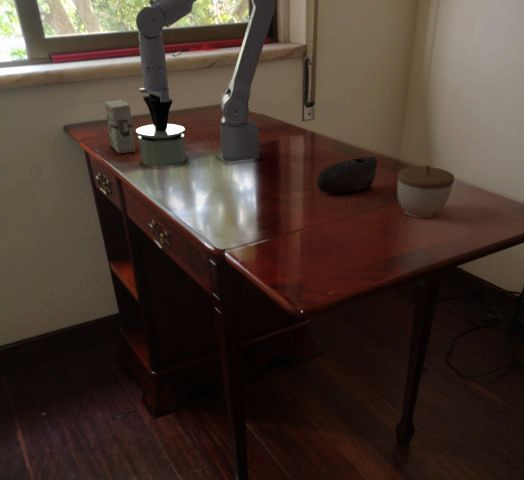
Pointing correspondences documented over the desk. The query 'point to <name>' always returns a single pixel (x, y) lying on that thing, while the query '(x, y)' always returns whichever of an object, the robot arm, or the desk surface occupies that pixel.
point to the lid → (160, 131)
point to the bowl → (162, 150)
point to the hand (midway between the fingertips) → (160, 128)
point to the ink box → (120, 126)
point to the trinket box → (423, 190)
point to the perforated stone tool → (348, 176)
